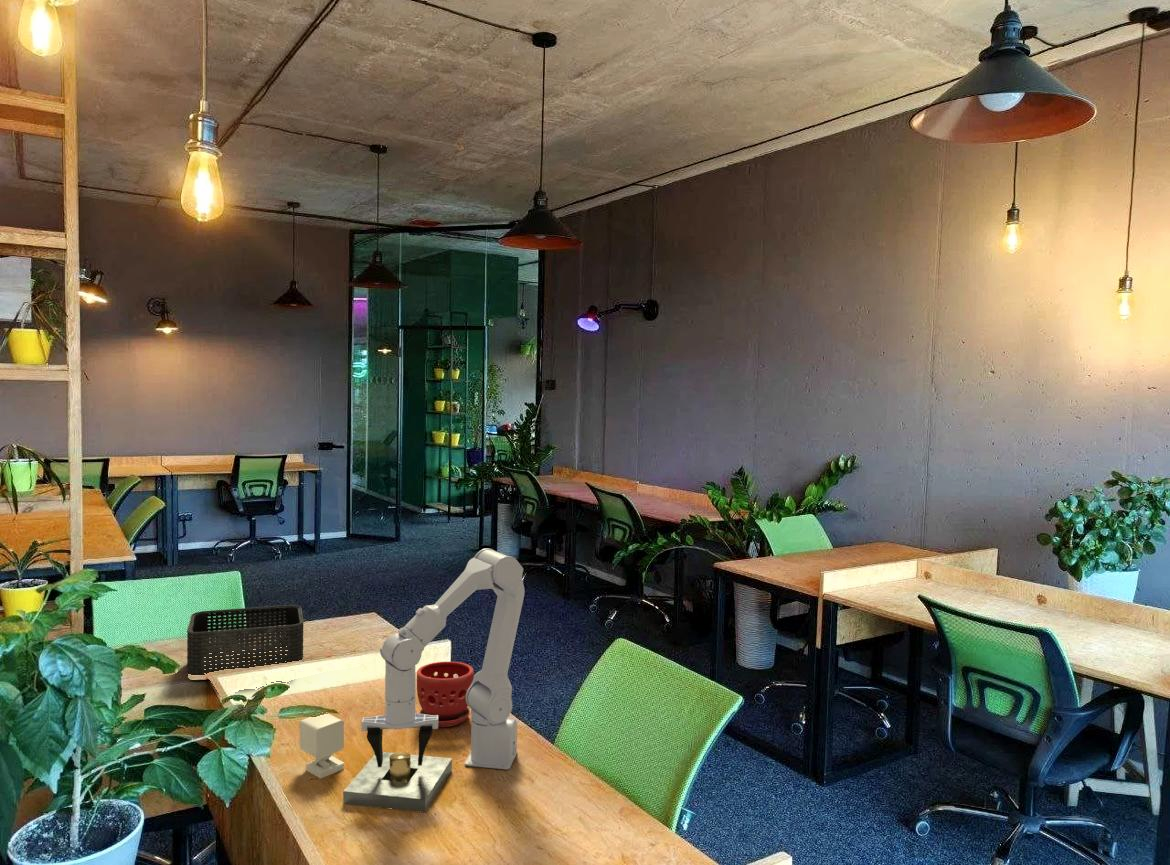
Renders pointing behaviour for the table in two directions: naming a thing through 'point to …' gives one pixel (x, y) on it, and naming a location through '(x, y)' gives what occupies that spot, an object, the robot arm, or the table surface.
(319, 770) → the security camera
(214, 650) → the storage bin
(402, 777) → the cylinder
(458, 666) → the plant pot
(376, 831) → the table surface
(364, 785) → the jig plate
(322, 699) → the table surface
